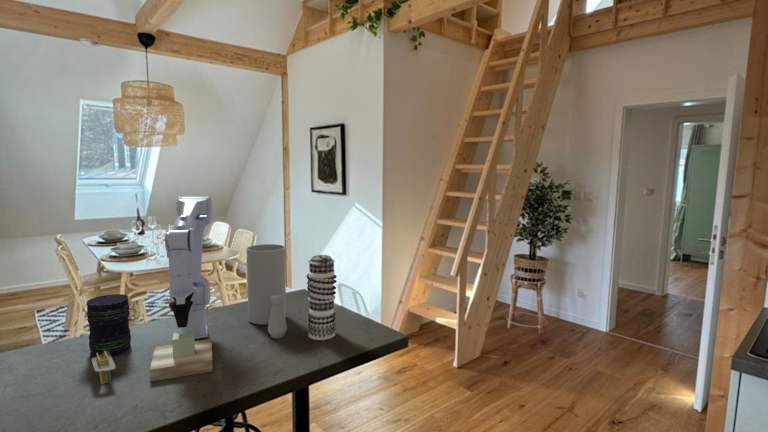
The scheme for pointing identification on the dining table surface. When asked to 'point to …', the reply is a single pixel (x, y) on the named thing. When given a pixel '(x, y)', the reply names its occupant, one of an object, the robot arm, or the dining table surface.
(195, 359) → the birch base
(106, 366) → the platform
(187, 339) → the green cube
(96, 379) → the dining table surface
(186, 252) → the robot arm
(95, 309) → the storage jar
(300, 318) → the dining table surface
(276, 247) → the cylinder vase
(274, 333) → the salt shaker
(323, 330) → the black white patterned cylinder
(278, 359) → the dining table surface
